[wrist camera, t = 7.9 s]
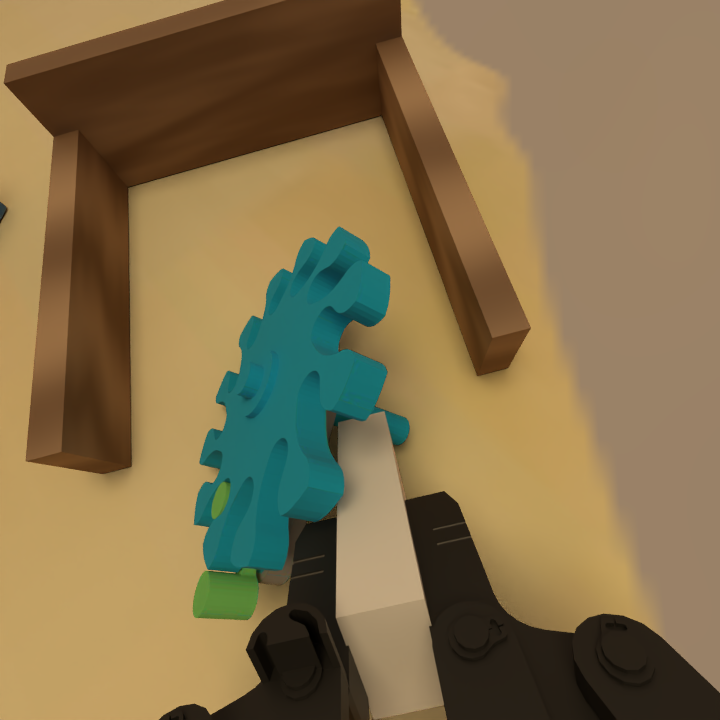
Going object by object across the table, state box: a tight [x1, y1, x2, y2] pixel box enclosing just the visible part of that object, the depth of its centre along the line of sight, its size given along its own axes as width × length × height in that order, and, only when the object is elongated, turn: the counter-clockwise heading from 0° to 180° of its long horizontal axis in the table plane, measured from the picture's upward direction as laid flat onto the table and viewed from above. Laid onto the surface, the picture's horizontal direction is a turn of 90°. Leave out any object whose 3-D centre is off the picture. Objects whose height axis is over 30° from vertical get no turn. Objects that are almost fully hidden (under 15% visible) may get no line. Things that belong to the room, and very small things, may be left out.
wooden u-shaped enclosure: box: [4, 0, 531, 474], centre depth 17 cm, size 16×16×6 cm
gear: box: [193, 227, 409, 620], centre depth 13 cm, size 11×6×10 cm
